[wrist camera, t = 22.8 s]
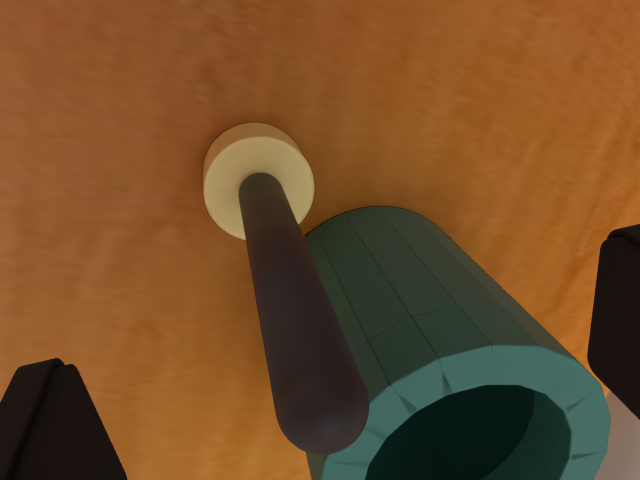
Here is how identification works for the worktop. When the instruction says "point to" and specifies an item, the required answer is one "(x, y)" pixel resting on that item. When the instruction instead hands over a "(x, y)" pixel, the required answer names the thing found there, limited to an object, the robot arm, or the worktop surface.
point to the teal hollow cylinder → (449, 363)
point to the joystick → (287, 285)
